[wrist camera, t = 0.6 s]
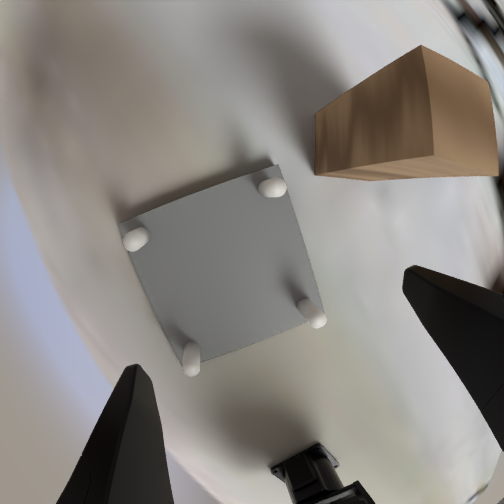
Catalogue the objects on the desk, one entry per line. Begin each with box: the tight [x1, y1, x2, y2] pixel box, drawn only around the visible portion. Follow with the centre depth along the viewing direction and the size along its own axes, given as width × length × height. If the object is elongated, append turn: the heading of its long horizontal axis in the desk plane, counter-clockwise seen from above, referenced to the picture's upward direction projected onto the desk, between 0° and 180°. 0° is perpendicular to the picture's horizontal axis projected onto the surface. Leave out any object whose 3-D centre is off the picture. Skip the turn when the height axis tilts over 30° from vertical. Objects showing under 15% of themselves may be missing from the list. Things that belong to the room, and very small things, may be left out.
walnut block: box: [315, 45, 498, 181], centre depth 15 cm, size 5×5×13 cm
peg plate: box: [118, 164, 327, 376], centre depth 20 cm, size 12×12×4 cm
